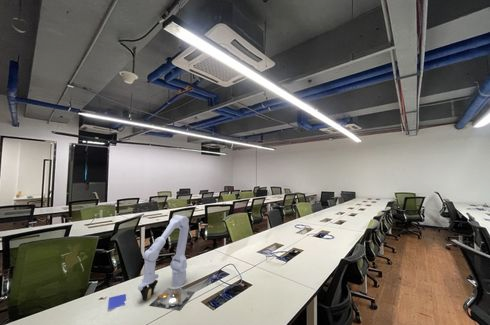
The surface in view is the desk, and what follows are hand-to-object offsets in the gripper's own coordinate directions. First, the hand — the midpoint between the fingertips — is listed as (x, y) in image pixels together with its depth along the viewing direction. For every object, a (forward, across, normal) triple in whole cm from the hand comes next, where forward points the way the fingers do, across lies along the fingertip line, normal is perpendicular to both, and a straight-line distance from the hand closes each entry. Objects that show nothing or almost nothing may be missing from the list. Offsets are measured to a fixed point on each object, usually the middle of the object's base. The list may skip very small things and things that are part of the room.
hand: (147, 297), depth 112 cm
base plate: (+1, -3, +14) cm, 14 cm away
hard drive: (+2, +6, -14) cm, 15 cm away
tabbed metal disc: (0, -3, +14) cm, 14 cm away
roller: (+1, 0, 0) cm, 1 cm away
